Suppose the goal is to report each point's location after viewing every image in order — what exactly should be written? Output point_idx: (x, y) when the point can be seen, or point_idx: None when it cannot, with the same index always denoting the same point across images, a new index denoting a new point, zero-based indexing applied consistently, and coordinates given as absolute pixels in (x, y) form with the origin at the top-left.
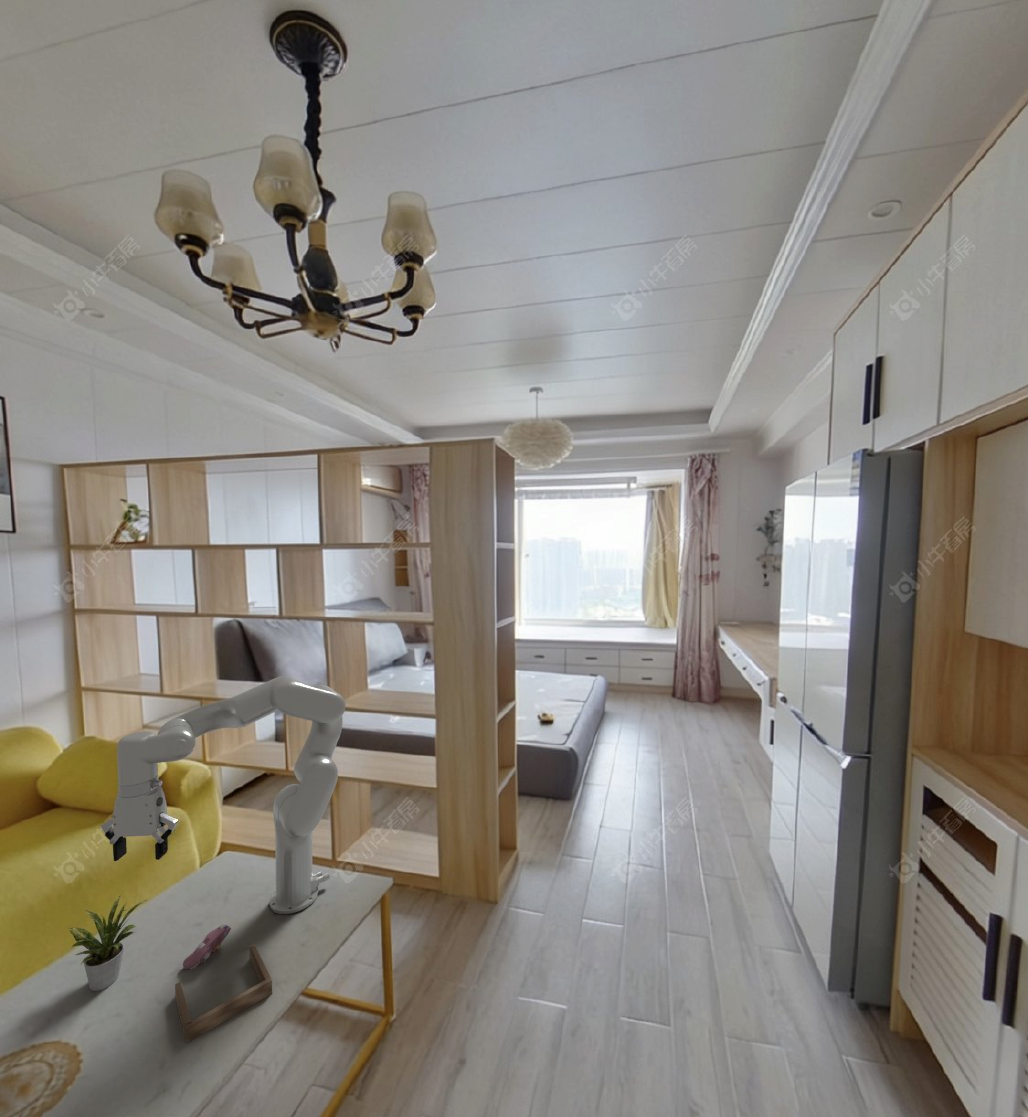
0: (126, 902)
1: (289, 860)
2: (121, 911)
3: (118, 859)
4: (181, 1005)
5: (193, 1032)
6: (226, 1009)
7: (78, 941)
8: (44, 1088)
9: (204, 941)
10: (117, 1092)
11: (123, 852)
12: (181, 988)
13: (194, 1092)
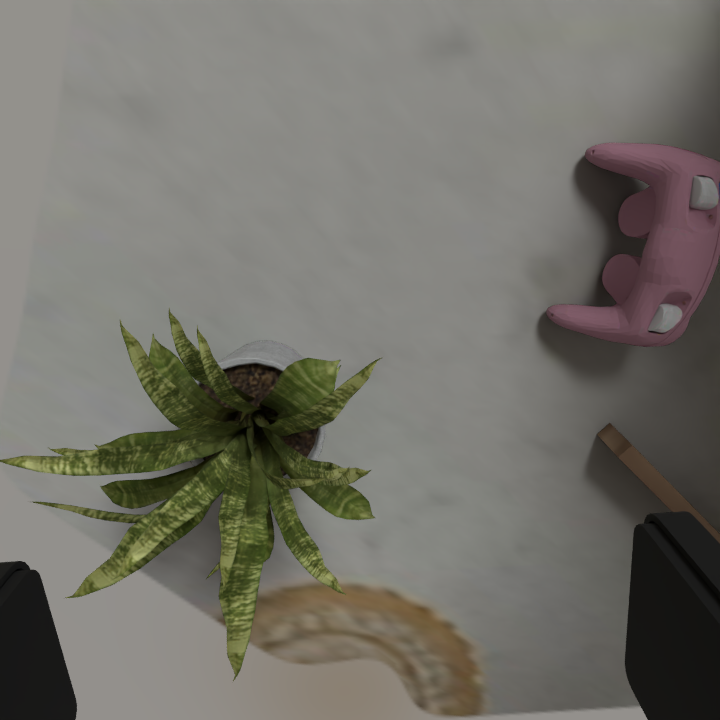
0: (197, 334)
1: None
2: (287, 480)
3: (69, 694)
4: None
5: None
6: None
7: (233, 662)
8: (413, 685)
9: (663, 298)
10: (616, 681)
11: (25, 653)
12: (654, 472)
13: None
